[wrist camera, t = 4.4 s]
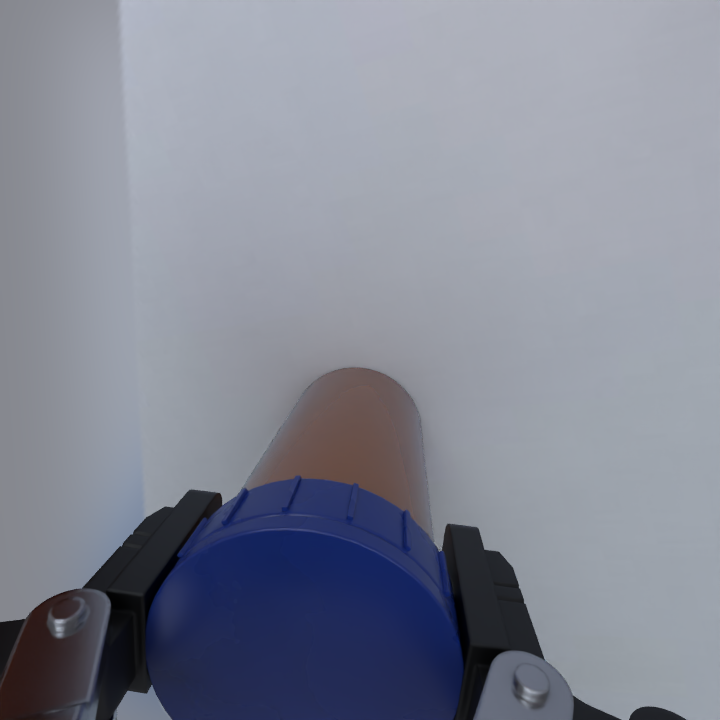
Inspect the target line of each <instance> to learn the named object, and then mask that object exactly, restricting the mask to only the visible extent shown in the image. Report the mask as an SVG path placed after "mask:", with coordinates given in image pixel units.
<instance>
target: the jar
mask: <svg viewBox="0 0 720 720" xmlns="http://www.w3.org/2000/svg"><path fill="white" fill-rule="evenodd" d="M295 476H301V478H304V479H306V478H311V479H324V480H331V481H336V482H342V483H346V484H350V485H353V483H356V484H359V488H362V489H365V490H367V491H369V492H372V493H374V494H376V495H378V496H380V497H382V498H384V499H386V500H387V501H389V502H390V503H392V504H394V505H395V506H397V507H398V508H400V509H401V510H403V511H405V510H408V511H409V512H410V517H411V518H412V519H413V520H414V521H415V522H416V523H417V524H418V525H419V526H420V527H421V528H422V529H423V530H424V531H425V532H426V533H427V535H428V536H429V537H430V539H431V540H432V542H433V543H434V536H433V528H432V519H431V510H430V502H429V493H428V484H427V476H426V467H425V458H424V450H423V441H422V432H421V424H420V418H419V414H418V411H417V408H416V406H415V404H414V402H413V400H412V398H411V397H410V396H409V394H408V393H407V392H406V390H405V389H404V388H403V387H402V386H401V385H400V384H398V383H397V382H396V381H394V380H393V379H391V378H390V377H388V376H386V375H384V374H382V373H380V372H377V371H373V370H370V369H364V368H344V369H339V370H335V371H332V372H330V373H327V374H325V375H323V376H322V377H320V378H318V379H317V380H316V381H314V382H313V383H312V384H311V385H310V386H309V387H308V388H307V389H306V390H305V391H304V393H303V394H302V395H301V397H300V398H299V400H298V402H297V403H296V405H295V406H294V408H293V409H292V411H291V412H290V414H289V416H288V417H287V419H286V420H285V422H284V423H283V425H282V426H281V428H280V430H279V431H278V433H277V434H276V436H275V437H274V439H273V440H272V442H271V444H270V445H269V447H268V448H267V450H266V451H265V453H264V454H263V456H262V458H261V459H260V461H259V462H258V464H257V465H256V467H255V468H254V470H253V472H252V473H251V475H250V476H249V478H248V479H247V481H246V482H245V484H244V486H243V487H242V489H244V488H246V489H247V490H251V489H253V488H255V487H259V486H262V485H265V484H268V483H272V482H277V481H283V480H289V479H294V478H295ZM242 489H241V490H242ZM241 490H240V491H241ZM239 493H240V492H239ZM239 493H238V494H239ZM237 496H238V495H237Z"/></svg>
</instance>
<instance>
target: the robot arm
mask: <svg viewBox="0 0 720 720" xmlns="http://www.w3.org/2000/svg"><path fill="white" fill-rule="evenodd" d="M220 507H222V497H221V494H220V493H215V492H208V491H200V490H192V489H191V490H189V491H188V492H187V493H186V494H185V496H184V497H183V498H182V499H181V500H180V501H179V503H178V504H177V505H176V506H175V507H174V508H172V507H164V508H162V509H160V510H159V511H157V512H155V513H153V514H152V515H150V516H148V517H146V518H145V520H144V521H143V522H142V523H141V524H140V525H139V526H138V527H137V528H136V529H135V531H134V532H133V535H130V536H129V537H128V538H127V539H126V540H125V542H124V543H123V545H122V547H121V546H120V547H119V548H118V549H117V550H116V551H115V553H114V554H113V555H112V556H111V557H110V558H109V559H108V560H107V561H106V563H105V564H104V565H103V566H102V567H101V568H100V569H99V570H98V571H97V572H96V573H95V575H94V576H93V577H92V578H91V579H90V580H89V581H88V582H87V583H86V584H85V586H84V587H83V588H82V589H74V590H70V591H66V592H63V593H60V594H58V595H56V596H53V597H51V598H49V599H47V600H46V601H44V602H43V603H41V604H40V605H39V606H37V607H36V608H35V609H34V610H33V611H32V612H31V613H30V614H29V615H28V617H27V618H26V619H22V620H14V621H6V622H0V720H117V707H118V705H119V704H120V702H121V700H122V699H123V697H124V695H125V694H126V692H127V691H134V692H140V693H147V692H148V690H149V688H150V687H151V685H152V683H151V680H150V677H149V673H148V670H147V666H146V647H145V627H146V622H147V618H148V613H149V610H150V607H151V605H152V602H153V600H154V597H155V595H156V593H157V592H158V590H159V589H160V587H161V585H162V584H163V582H164V580H165V579H166V578H167V576H168V575H169V573H170V572H171V570H172V569H173V568H174V566H175V565H176V563H177V562H178V560H179V559H180V558H179V557H178V556H177V555H178V553H179V552H180V550H181V549H182V548H183V546H184V545H185V543H186V542H187V540H188V539H189V538H190V536H191V535H192V533H193V532H194V531H195V529H196V528H197V526H198V525H199V524H200V522H201V521H202V519H203V518H204V517H205V518H207V519H209V518H210V516H211V515H212V514H213V513H215V512H216V511H217V510H218V509H219V508H220ZM442 551H443V552H444V553H445V557H446V564H447V570H448V572H449V575H450V579H451V583H452V588H453V593H454V600H455V606H456V613H457V619H458V626H459V632H460V640H461V645H462V652H463V658H464V674H463V680H462V686H461V691H460V696H459V702H458V707H457V711H456V716H455V718H454V720H621V719H619V718H616V717H614V716H612V715H609V714H607V713H605V712H603V711H600V710H598V709H596V708H593V707H591V706H589V705H587V704H585V703H584V702H582V701H581V700H579V699H577V698H576V697H575V696H573V695H572V692H571V689H570V687H569V685H568V684H567V682H566V680H565V679H564V678H563V676H562V675H561V674H560V673H559V672H558V671H557V670H556V669H555V668H554V667H553V666H552V665H551V664H549V663H548V662H546V661H545V659H544V656H543V654H542V651H541V648H540V645H539V642H538V639H537V636H536V633H535V630H534V628H533V625H532V622H531V619H530V616H529V613H528V610H527V607H526V604H524V599H523V596H522V593H521V590H520V589H519V584H518V581H517V578H516V575H515V573H514V570H513V567H512V566H511V565H510V564H509V563H508V562H507V560H506V559H505V558H504V557H503V556H502V555H501V554H500V552H497V551H489V550H484V547H483V543H482V539H481V536H480V532H479V529H478V528H477V527H471V526H463V525H455V524H447V526H446V529H445V535H444V541H443V547H442ZM629 720H686V719H684V718H683V717H681V716H679V715H677V714H675V713H673V712H671V711H668V710H665V709H662V708H658V707H649V706H648V707H641V708H639V709H637V710H635V711H634V712H633V713H632V714H631V716H630V719H629Z"/></svg>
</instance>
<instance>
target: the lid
mask: <svg viewBox="0 0 720 720" xmlns="http://www.w3.org/2000/svg"><path fill="white" fill-rule="evenodd" d="M177 556H178V557H179V558H180V559H179V560H178V562H177V563H176V565H175V566H174V568H173V569H172V570H171V572H170V573H169V575H168V576H167V578H166V579H165V580H164V582H163V584H162V585H161V587H160V589H159V590H158V592H157V593H156V595H155V597H154V600H153V602H152V605H151V607H150V610H149V613H148V618H147V622H146V627H145V647H146V666H147V670H148V673H149V677H150V680H151V683H152V685H153V688H154V690H155V693H156V695H157V697H158V699H159V700H160V702H161V704H162V706H163V707H164V709H165V711H166V712H167V713H168V715H169V716H170V717H171V719H172V720H454V718H455V716H456V711H457V707H458V702H459V696H460V691H461V686H462V680H463V674H464V658H463V652H462V645H461V640H460V632H459V626H458V619H457V613H456V606H455V600H454V593H453V588H452V583H451V579H450V575H449V572H448V570H447V564H446V557H445V553H444V552H443V551H440V552H439V551H438V549H437V547H436V546H435V544H434V543H433V542H432V540H431V539H430V537H429V536H428V535H427V533H426V532H425V531H424V530H423V529H422V528H421V527H420V526H419V525H418V524H417V523H416V522H415V521H414V520H413V519H412V518H411V517H410V512H409V511H408V510H405V511H403V510H401V509H400V508H398V507H397V506H395V505H394V504H392V503H390V502H389V501H387V500H386V499H384V498H382V497H380V496H378V495H376V494H374V493H372V492H369V491H367V490H365V489H362V488H359V484H356V483H353V485H350V484H346V483H342V482H336V481H331V480H324V479H311V478H306V479H304V478H301V476H295V478H294V479H289V480H283V481H277V482H272V483H268V484H265V485H262V486H259V487H255V488H253V489H251V490H247V489H246V488H244V489H242V490H241V491H240V493H239V494H238V496H236V497H235V498H233V499H231V500H230V501H228V502H227V503H225V504H224V505H223V506H222V507H220V508H219V509H218V510H217V511H216V512H215V513H213V514H212V515H211V516H210V518H209V519H207V518H205V517H204V518H203V519H202V521H201V522H200V524H199V525H198V526H197V528H196V529H195V531H194V532H193V533H192V535H191V536H190V538H189V539H188V540H187V542H186V543H185V545H184V546H183V548H182V549H181V550H180V552H179V553H178V555H177Z"/></svg>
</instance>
